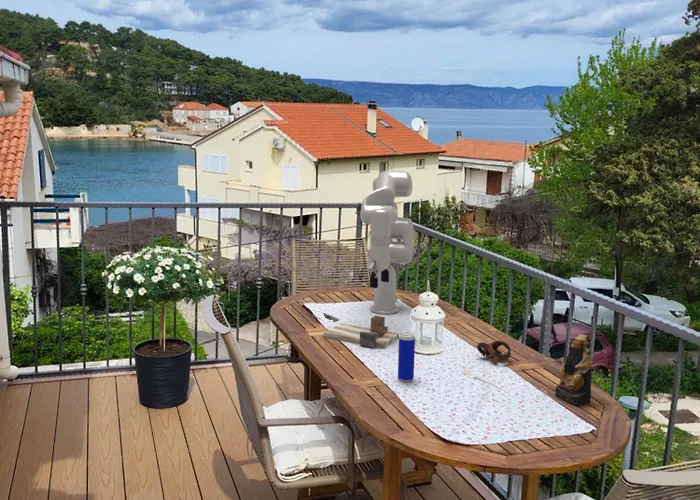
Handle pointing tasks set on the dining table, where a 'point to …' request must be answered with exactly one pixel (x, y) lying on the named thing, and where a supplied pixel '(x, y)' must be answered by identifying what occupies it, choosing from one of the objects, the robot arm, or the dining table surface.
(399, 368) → the beverage can
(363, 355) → the dining table surface
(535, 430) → the dining table surface
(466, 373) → the fork
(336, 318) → the driftwood
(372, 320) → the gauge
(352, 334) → the board
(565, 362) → the statue
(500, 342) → the brown looped ornament
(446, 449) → the dining table surface
